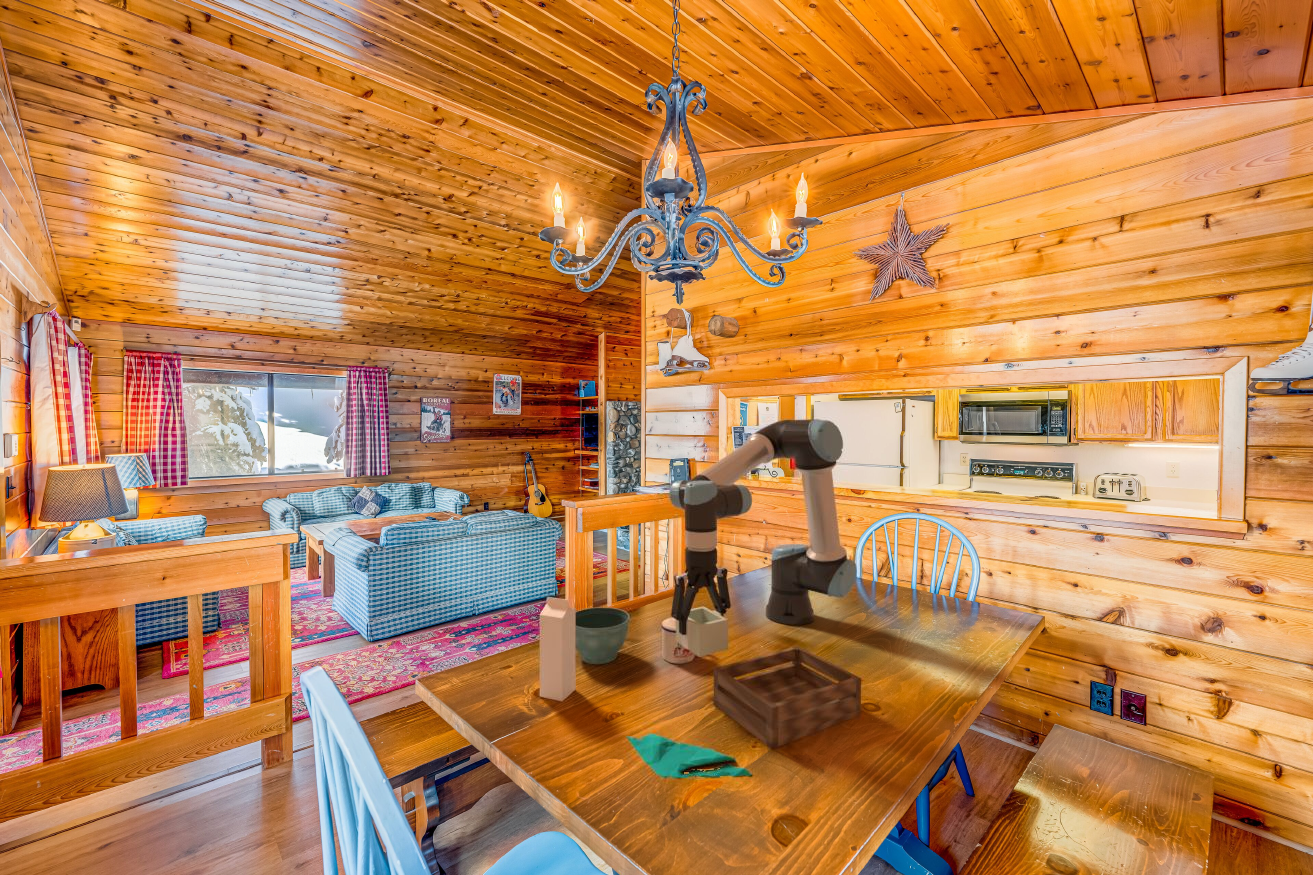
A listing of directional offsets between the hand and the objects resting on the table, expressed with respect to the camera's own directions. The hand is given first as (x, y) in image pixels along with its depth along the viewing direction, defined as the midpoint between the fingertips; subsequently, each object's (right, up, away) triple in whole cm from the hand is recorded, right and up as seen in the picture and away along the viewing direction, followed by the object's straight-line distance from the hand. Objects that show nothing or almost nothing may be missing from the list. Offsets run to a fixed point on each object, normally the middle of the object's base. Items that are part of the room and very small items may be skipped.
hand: (701, 642), depth 127 cm
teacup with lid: (-4, -10, +18) cm, 21 cm away
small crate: (0, -1, 0) cm, 1 cm away
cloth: (-6, -12, -27) cm, 30 cm away
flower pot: (-26, -10, +16) cm, 32 cm away
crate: (+18, -11, -9) cm, 23 cm away
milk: (-33, -11, -3) cm, 35 cm away
